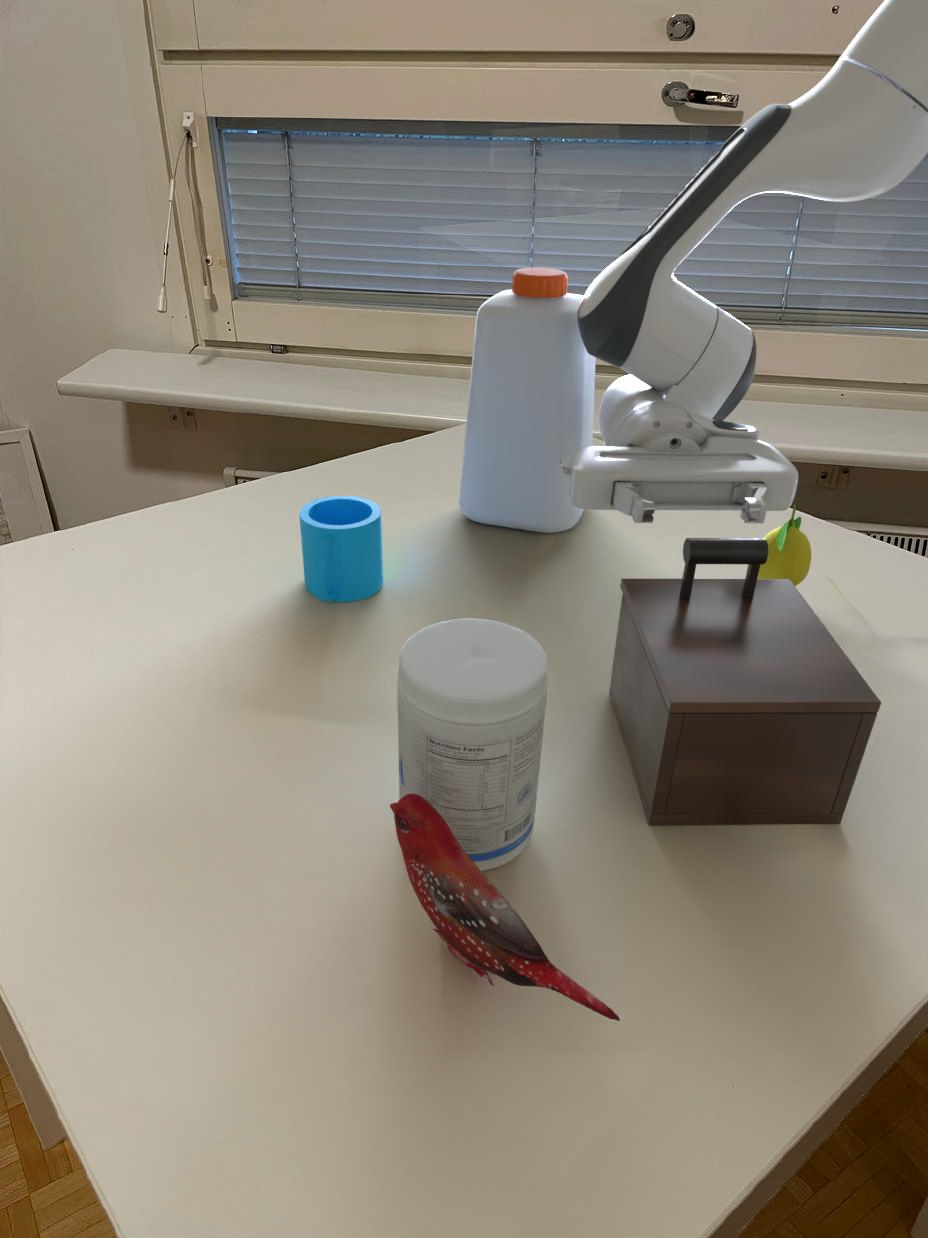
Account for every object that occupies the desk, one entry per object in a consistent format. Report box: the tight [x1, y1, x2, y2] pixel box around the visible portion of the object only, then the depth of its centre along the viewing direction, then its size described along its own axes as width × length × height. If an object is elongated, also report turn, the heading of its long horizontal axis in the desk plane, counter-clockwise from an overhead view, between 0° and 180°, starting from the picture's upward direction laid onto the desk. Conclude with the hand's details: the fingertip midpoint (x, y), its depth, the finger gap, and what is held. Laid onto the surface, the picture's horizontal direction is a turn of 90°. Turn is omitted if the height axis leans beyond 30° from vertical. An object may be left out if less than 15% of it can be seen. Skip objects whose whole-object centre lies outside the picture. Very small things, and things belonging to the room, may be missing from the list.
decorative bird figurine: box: [389, 793, 621, 1022], centre depth 48 cm, size 3×18×10 cm, turn 43°
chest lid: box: [619, 537, 882, 713], centre depth 63 cm, size 17×14×6 cm
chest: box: [608, 593, 878, 826], centre depth 67 cm, size 16×14×10 cm
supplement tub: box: [396, 617, 549, 872], centre depth 58 cm, size 10×10×15 cm
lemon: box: [757, 504, 812, 587], centre depth 90 cm, size 7×6×10 cm
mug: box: [298, 495, 384, 603], centre depth 88 cm, size 12×8×8 cm
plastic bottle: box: [458, 267, 597, 534], centre depth 102 cm, size 15×15×28 cm
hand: (701, 515), depth 73 cm, fingers open, 8 cm apart
